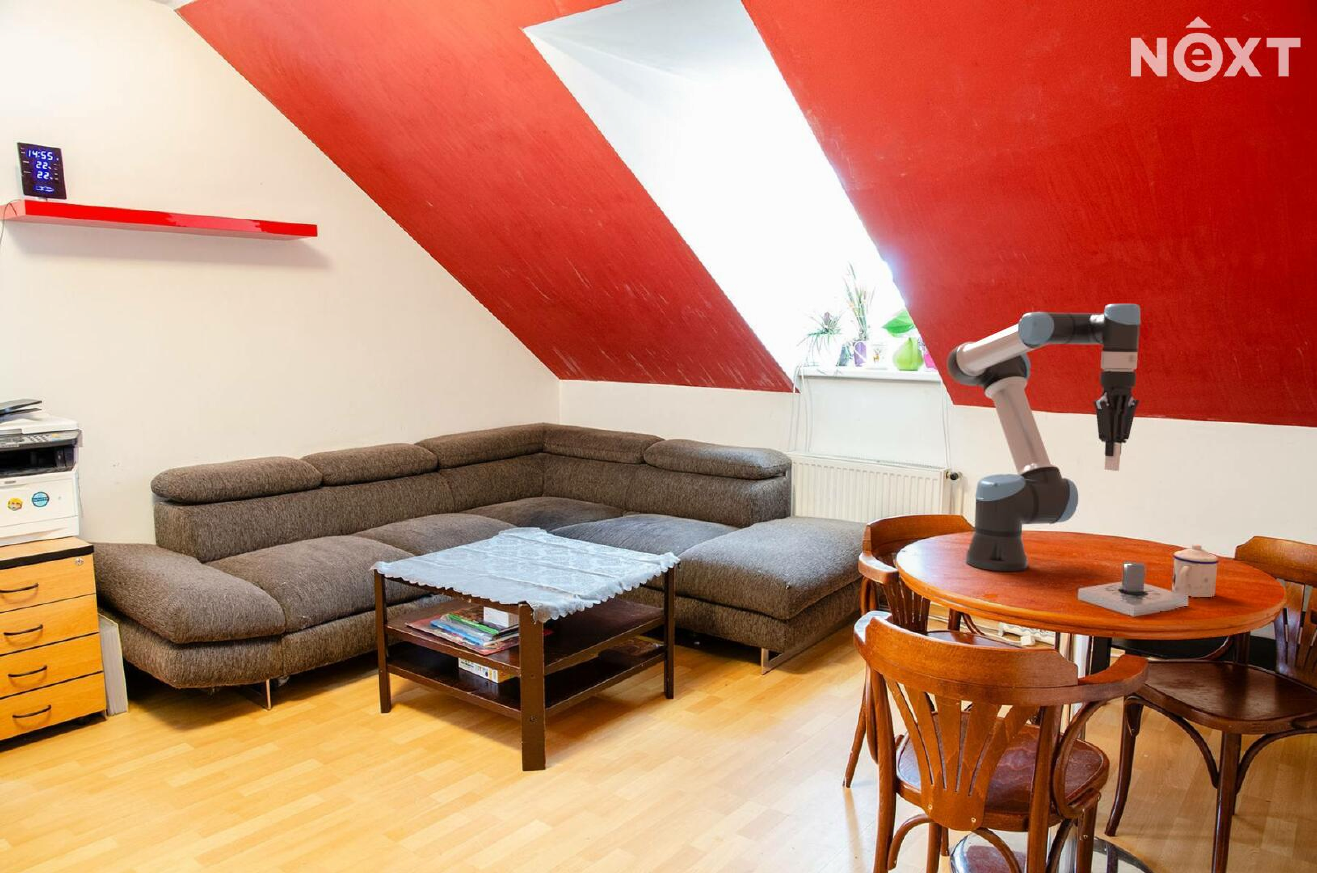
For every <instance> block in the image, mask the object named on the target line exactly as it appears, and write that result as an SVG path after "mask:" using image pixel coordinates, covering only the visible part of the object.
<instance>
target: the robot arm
mask: <svg viewBox="0 0 1317 873" xmlns="http://www.w3.org/2000/svg"><path fill="white" fill-rule="evenodd" d="M1141 323H1142V322H1141V307H1140V305H1139V304H1137V303H1109V304H1107V305H1105V308H1104V311H1103V312H1102V313H1100V312H1099V313H1098V312H1097V313H1096V312H1093V313H1092V312H1085V313H1084V312H1046V311H1036V312H1027V313H1025V314H1023V315H1022V317H1021V318H1020V320H1019V321H1018V323H1017V324H1015V325H1012V326H1010V327H1007V328H1006V329H1003V330H1001V331H999V332H998V331H997V333H994V334H991V335H989V336H987V337H985V338H982V339H980V340H978V341H967V342H963V343H962V344H960V345H957V346H956V347H954V348H953V349H952V350H951V351H950V352H949V354H948V357H947V359H946V369H947V372H948V374H949V376H950V377H951V378H952V379H953V380H954V381H955V382H956V383H959V384H960V385H964V386H970V387H971V386H972V387H973V386H974V387H975V386H976V387H978V386H979V387H982V390H983V392H984V395H985V397H987V398H988V399H991V400H992V402H993V404H994V407H995V409H996V413H997V416H998V419H999V422H1000V425H1001V428H1002V430H1003V433H1004V437H1005V439H1006V442H1007V445H1008V448H1009V451H1010V454H1011V457H1012V460H1013V463H1014V466H1015V469H1016V472H1017V474H1011V473H1007V474H1006V473H1005V474H1004V473H1002V474H994V475H993V474H992V475H988V476H987V475H986V476H984V477H982V478H980V480H979V481H978V482H977V484H976V493H975V494H974V495H975V510H974V511H975V512H974V513H975V515H974V529H973V530H974V533H973V536H972V539H971V541H970V544H969V547H968V549H967V551H966V552H965V557H966V558H965V563H966V564H968V565H969V564H970V565H969V566H972V567H975V568H977V569H983V570H989V571H996V572H997V571H998V572H1017V571H1018V572H1019V571H1023V570H1026V569H1027V568H1028V556H1027V555H1026V553H1025V552H1026V551H1025V546H1024V542H1023V536H1022V534H1023V532H1022V531H1023V525H1038V524H1039V525H1043V524H1045V525H1046V524H1050V525H1052V524H1057V523H1063V522H1066V521H1069V520H1070V519H1071V518H1073V516H1074V514H1075V513H1076V511H1077V507H1078V504H1079V492H1078V487H1077V486H1076V484H1075V482H1073V481H1072V480H1070V479H1069V478H1067V477H1064V478H1063V476H1062V473H1061V471H1060V469H1059V467H1058V466H1056V465H1053V464H1052V463H1051V461H1050V459H1049V456H1048V454H1047V450H1046V447H1045V445H1044V444H1045V443H1044V442H1043V440H1042V436H1041V434H1040V431H1039V428H1038V425H1037V422H1036V419H1035V417H1034V415H1033V412H1032V408H1031V406H1030V403H1029V401H1028V397H1027V395H1026V391H1025V388H1026V387H1027V385H1028V380H1029V379H1030V376H1031V370H1030V369H1031V368H1032V367H1031V361H1030V358H1029V356H1028V354H1027V353H1028V352H1031V351H1034V350H1036V349H1040V348H1042V347H1045V346H1047V345H1083V346H1084V345H1085V346H1087V345H1102V349H1101V356H1100V357H1101V358H1100V368H1101V369H1103V370H1101V372H1100V375H1099V376H1100V377H1099V386H1100V387H1102V393H1101V397H1100V398H1099V399H1094V400H1093V405H1094V409H1095V412H1096V413H1095V414H1096V421H1097V422H1096V423H1097V424H1096V425H1097V432H1098V439H1099V440H1100V441H1101V442H1103V443H1104V444H1105V445H1104V446H1105V447H1104V455H1105V458H1104V459H1105V460H1104V470H1107V471H1112V472H1113V471H1115V472H1116V471H1117V472H1118V471H1120V461H1121V460H1120V459H1121V456H1122V455H1121V454H1122V443H1123V444H1126V443H1127V440H1129V439H1130V435H1131V430H1132V426H1133V421H1134V416H1135V412H1136V410H1137V407H1138V405H1139V402H1140V401H1139V399H1135V398H1134V397H1133V392H1132V388H1135V387H1136V384H1137V383H1136V382H1137V372H1136V371H1134V370H1136V369H1137V367H1138V363H1137V362H1138V352H1139V342H1140V341H1139V340H1140V328H1141Z"/></svg>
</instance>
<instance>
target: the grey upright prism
mask: <svg viewBox="0 0 1317 873" xmlns="http://www.w3.org/2000/svg"><path fill="white" fill-rule="evenodd" d="M1122 564H1123V565H1122V579H1121V582H1122V590H1121V593H1123V594H1127V595H1133V596H1143V592H1144V584H1145V579H1146V578H1145V576H1146V564H1145V563H1142V562H1136V561H1124V562H1123V563H1122Z"/></svg>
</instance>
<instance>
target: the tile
mask: <svg viewBox="0 0 1317 873" xmlns="http://www.w3.org/2000/svg"><path fill="white" fill-rule="evenodd" d="M1121 590H1122V581H1116V582H1110V583H1105V584H1098V585H1094V586H1093V585H1092V586H1087V587H1081V588H1078V593H1077V599H1078V600H1079V601H1082V602H1086V603H1089V604H1092V605H1096V606H1099V607H1102V608H1104V609H1107V610H1110V611H1115V612H1116V613H1121V614H1124V615H1126V616H1129V615H1130V617H1141V616H1144V615H1151V614H1156V613H1161V612H1160V611H1162V612H1167V611H1171V610H1176V609H1175V608H1177V609H1179V608H1178V607H1182V606H1188V604H1189V597H1188V595H1184V594H1181V593H1177V592H1174V591H1173V590H1169V589H1165V588H1162V587H1158V586H1154V585H1152V584H1147V583H1144V592H1143V596H1133V595H1127V594H1123V593H1121ZM1188 607H1189V606H1188Z"/></svg>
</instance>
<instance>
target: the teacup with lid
mask: <svg viewBox="0 0 1317 873" xmlns="http://www.w3.org/2000/svg"><path fill="white" fill-rule="evenodd" d="M1173 558H1174V560H1173V561H1174V562H1173V573H1172V584H1171V585H1172V586H1171V591H1173V592H1177V593H1181V594H1184V595H1188V596H1191V597H1190V598H1194V597H1211V598H1213V597H1214V596H1215V594H1216V583H1217V582H1216V581H1217V569H1218V563H1219V558H1218V556H1216V555H1215V554H1212V553H1209V551H1207V550H1205V549H1202V545H1201V544H1197V543H1193V544H1192V545H1191V547H1190V548H1189V547H1188V548H1186V549H1183V550H1177V551H1175V552H1174V553H1173ZM1212 596H1213V597H1212Z"/></svg>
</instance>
